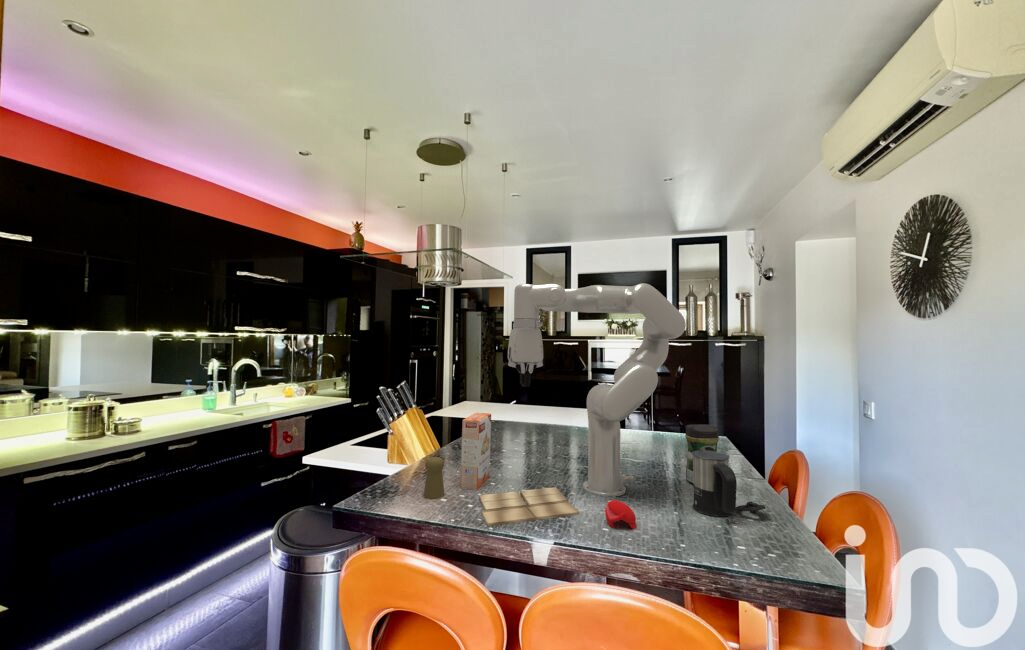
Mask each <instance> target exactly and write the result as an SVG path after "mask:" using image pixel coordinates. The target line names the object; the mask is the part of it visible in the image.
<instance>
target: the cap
mask: <svg viewBox="0 0 1025 650" xmlns="http://www.w3.org/2000/svg"><path fill="white" fill-rule="evenodd" d="M604 512H605V518H606V520H607V523H608V525H609V527H610V528H613V529H614V528H615V525H614V523H615V522H616V523H617V522H619V521H620V522H621V520H622V521H624V522H625V523H628V524H629V527H630V528H631V529H632V530H636V528H637V523H636V520H637V516H636V514H635V512H634V511H633V509H632V508H631V507H630V506H629V505H628V504H626V503H624V502H623V501H620V500H615V499H613V500H610V501H609V502H607V504H606V506H605V508H604Z"/></svg>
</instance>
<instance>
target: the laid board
mask: <svg viewBox="0 0 1025 650" xmlns="http://www.w3.org/2000/svg"><path fill="white" fill-rule="evenodd" d="M480 515H481V516H482V518H483V519H484V521H485V523H486V525H487V526H488V527H491V526H492V527H493V526H501V525H508V524H516V523H523V522H531V521H537V520H538V521H539V520H546V519H548V520H549V519H553V518H562V517H569V516H570V517H571V516H577V515H580V511H579V510H578V509H577V508H575V506H574V505H572V504H571V503H570V502H569V500H568V501H564V502H556V503H547V504H539V505H530V506H529V505H526V506H521V507H513V508H504V509H495V510H487V511H485V510H481V511H480Z"/></svg>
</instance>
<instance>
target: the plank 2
mask: <svg viewBox="0 0 1025 650" xmlns="http://www.w3.org/2000/svg"><path fill="white" fill-rule="evenodd" d="M519 495H520V496H521V498H522V499H523V500H524V502H525V503H526V505H527V506H530V505H539V504H547V503H556V502H564V501H568V502H569V500H568V499H567V498H566V496H564V494H563V493H562V492H561V491H560V490H559V489H558V488H557V486H555V487H554V486H553V487H546V488H545V487H544V488H535V489H527V490H526V489H525V490H520V491H519Z"/></svg>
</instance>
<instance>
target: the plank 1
mask: <svg viewBox="0 0 1025 650" xmlns="http://www.w3.org/2000/svg"><path fill="white" fill-rule="evenodd" d="M478 501H479V502H480V504H481V506H482V507H483V509H484V511H487V510H495V509H504V508H513V507H521V506H527V503H526V502H525V501H524V499H523V498H522V497H521V495H520V492H518V491H509V492H498V493H487V494H479V495H478Z"/></svg>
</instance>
